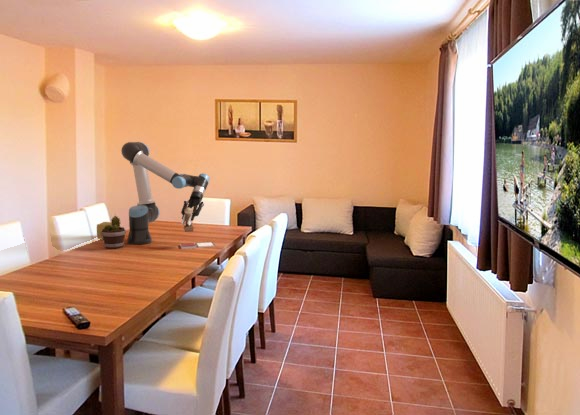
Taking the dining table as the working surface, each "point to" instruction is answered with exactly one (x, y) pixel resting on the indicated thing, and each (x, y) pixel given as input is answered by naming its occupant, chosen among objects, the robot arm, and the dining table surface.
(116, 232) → the flowerpot
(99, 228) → the cheese
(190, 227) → the stamp
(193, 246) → the ink pad
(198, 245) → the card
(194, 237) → the dining table surface
